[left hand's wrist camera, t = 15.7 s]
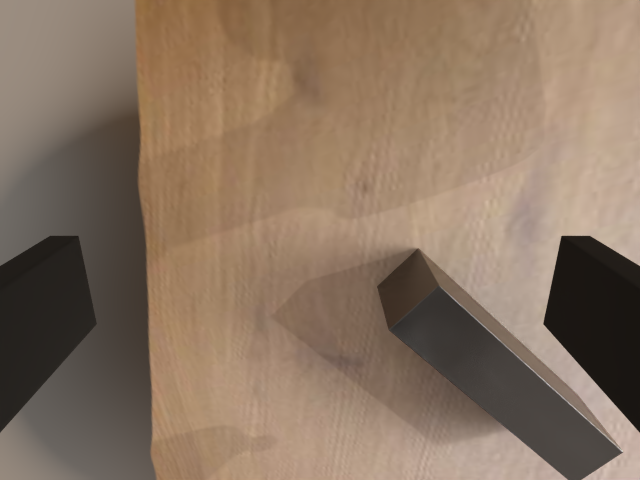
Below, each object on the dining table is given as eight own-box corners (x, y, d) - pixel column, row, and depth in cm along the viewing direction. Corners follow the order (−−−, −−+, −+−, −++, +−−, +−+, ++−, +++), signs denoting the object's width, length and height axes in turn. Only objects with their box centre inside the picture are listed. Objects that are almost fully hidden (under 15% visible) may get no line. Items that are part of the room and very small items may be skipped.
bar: (376, 286, 44) (388, 329, 37) (418, 248, 43) (439, 285, 35) (536, 423, 50) (574, 484, 43) (577, 394, 49) (623, 452, 41)
